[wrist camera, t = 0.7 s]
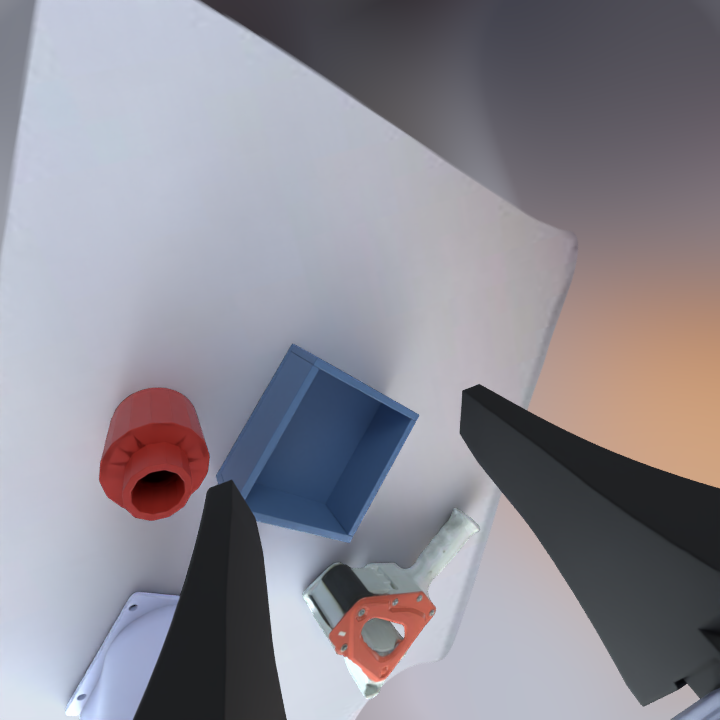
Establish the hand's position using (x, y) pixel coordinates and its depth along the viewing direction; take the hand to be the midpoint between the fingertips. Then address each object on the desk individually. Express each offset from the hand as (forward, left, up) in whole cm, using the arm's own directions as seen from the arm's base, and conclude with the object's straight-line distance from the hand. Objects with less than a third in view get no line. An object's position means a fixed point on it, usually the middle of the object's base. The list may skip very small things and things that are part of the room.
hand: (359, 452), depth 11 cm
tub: (-4, -9, -18) cm, 21 cm away
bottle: (-7, +2, -18) cm, 20 cm away
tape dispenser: (-15, -27, -19) cm, 36 cm away
